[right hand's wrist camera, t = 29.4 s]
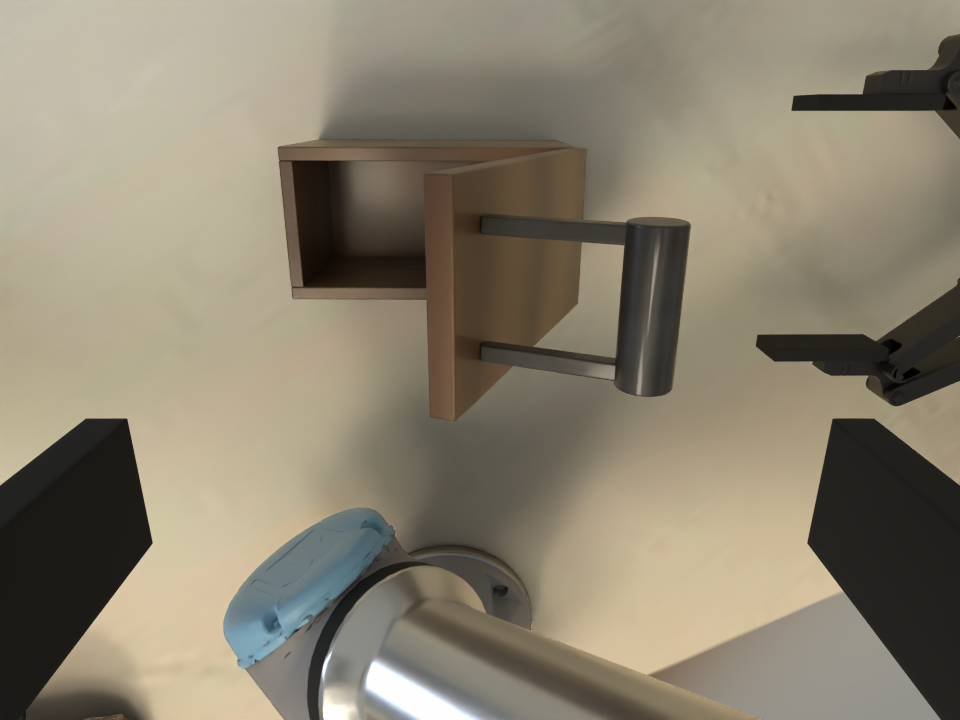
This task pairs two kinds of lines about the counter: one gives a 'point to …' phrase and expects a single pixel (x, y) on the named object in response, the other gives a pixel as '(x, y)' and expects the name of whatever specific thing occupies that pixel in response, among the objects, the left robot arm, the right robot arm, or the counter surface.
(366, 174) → the chest
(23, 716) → the fossil
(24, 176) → the counter surface
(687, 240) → the brown handled panel
